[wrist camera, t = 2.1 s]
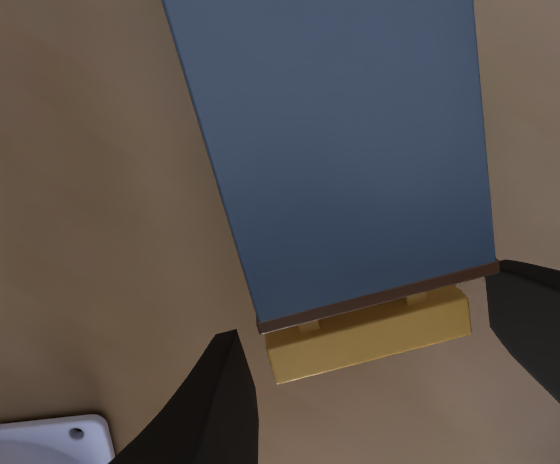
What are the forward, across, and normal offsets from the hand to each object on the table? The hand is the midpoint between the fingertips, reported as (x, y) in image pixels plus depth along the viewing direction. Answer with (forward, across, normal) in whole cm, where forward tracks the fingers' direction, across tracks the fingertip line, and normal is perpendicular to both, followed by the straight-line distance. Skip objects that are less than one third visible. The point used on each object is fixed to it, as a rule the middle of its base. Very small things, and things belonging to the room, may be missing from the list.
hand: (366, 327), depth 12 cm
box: (+3, 0, -5) cm, 6 cm away
